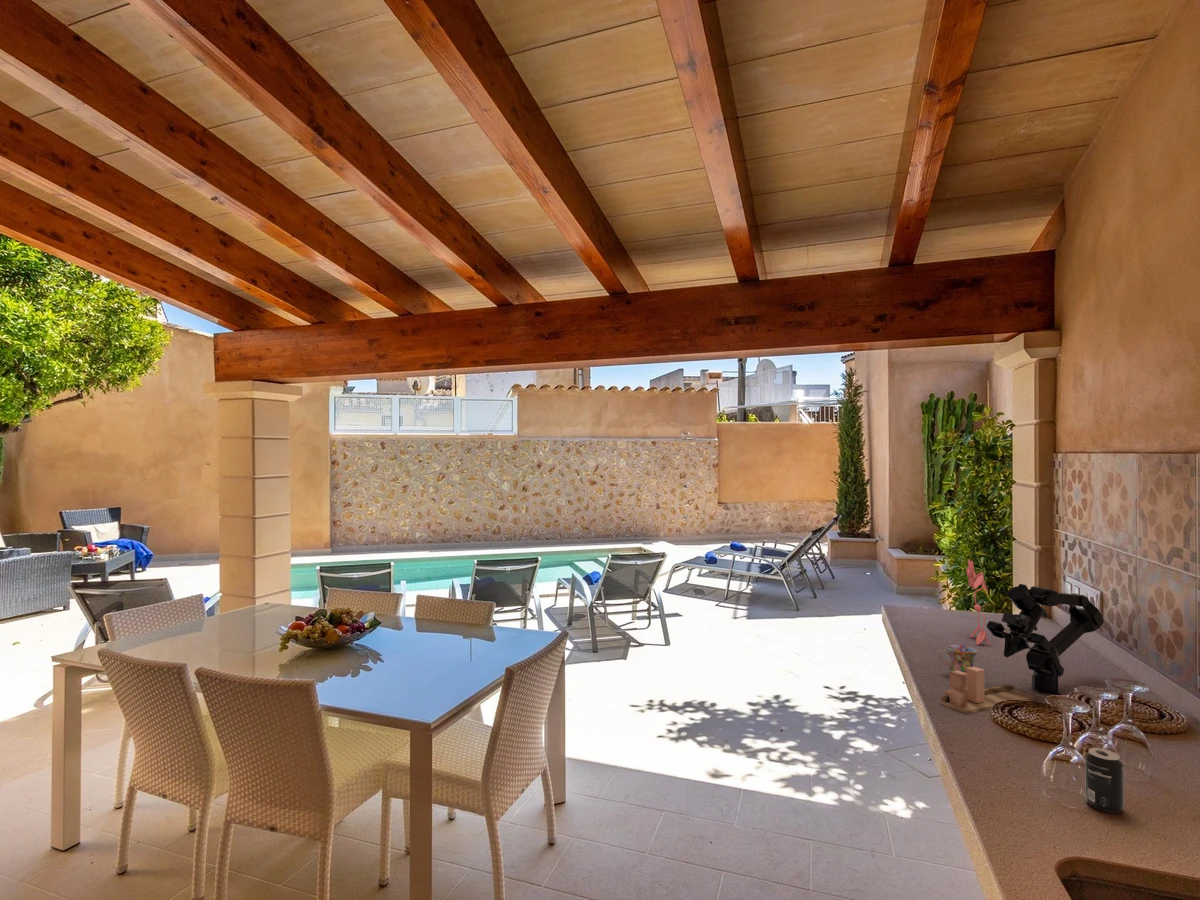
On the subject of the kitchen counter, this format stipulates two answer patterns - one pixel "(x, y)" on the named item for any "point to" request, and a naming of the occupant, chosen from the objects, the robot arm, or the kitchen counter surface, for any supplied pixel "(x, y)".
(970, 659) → the mug
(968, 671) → the block
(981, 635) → the figurine
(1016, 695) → the trammel board
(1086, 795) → the beverage can
